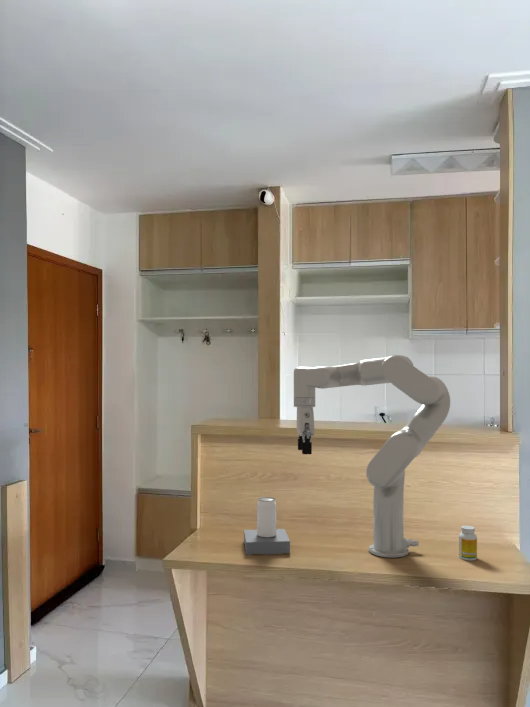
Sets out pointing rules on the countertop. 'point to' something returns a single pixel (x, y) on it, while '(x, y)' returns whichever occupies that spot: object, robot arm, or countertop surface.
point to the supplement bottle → (468, 543)
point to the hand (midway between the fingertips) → (304, 451)
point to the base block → (266, 543)
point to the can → (266, 517)
